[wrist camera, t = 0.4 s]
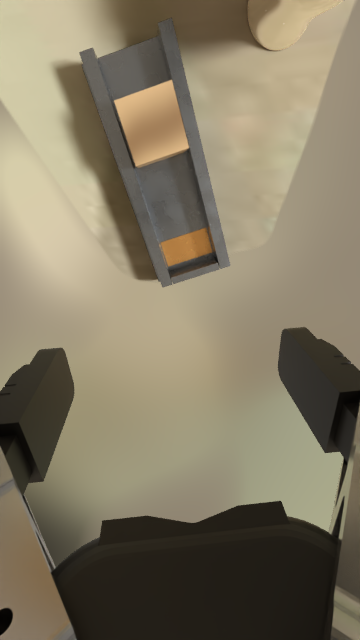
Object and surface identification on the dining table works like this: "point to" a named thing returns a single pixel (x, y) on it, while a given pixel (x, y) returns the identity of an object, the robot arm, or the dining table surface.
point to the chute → (166, 175)
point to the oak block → (152, 124)
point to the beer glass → (283, 20)
